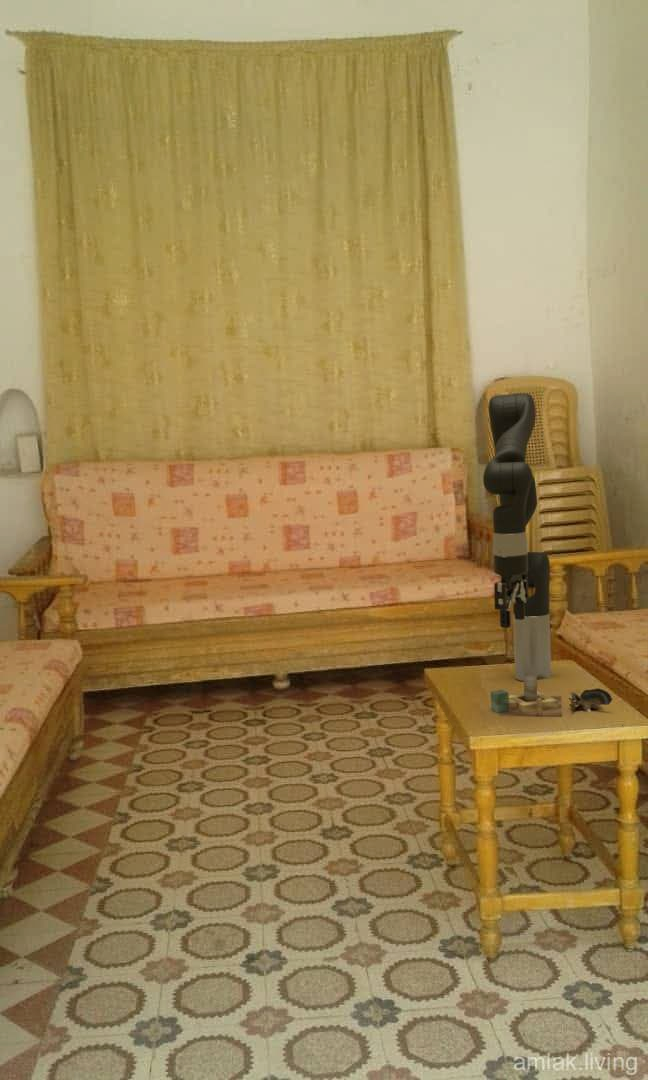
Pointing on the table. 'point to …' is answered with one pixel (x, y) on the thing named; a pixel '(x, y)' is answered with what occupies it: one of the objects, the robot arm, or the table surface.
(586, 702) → the brown squirrel figurine
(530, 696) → the post board
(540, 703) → the dowel pin
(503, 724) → the table surface
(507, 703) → the square frame with handle
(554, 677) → the table surface
